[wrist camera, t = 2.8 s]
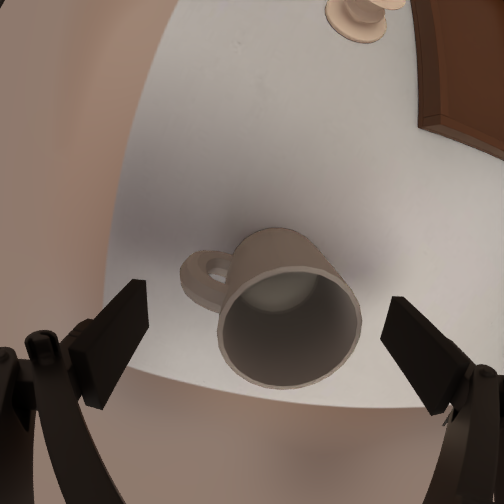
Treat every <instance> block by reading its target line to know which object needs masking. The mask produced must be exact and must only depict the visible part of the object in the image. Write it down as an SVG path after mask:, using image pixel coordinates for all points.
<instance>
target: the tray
mask: <svg viewBox="0 0 504 504" xmlns="http://www.w3.org/2000/svg"><path fill="white" fill-rule="evenodd" d="M411 6H412V12H413V19H414V28H415V37H416V48H417V62H418V87H419V115H418V128H421V129H424V130H427V131H430V132H433V133H436V134H439V135H442V136H445V137H448V138H450V139H453V140H456V141H458V142H461V143H464V144H466V145H469V146H471V147H474V148H476V149H479V150H481V151H483V152H486V153H488V154H490V155H493V156H495V157H497V158H499V159H501V160H503V161H504V0H411Z"/></svg>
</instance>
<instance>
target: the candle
mask: <svg viewBox="0 0 504 504" xmlns="http://www.w3.org/2000/svg"><path fill="white" fill-rule="evenodd" d="M405 1H406V0H328V2H327V4H326V7H325V14H326V17H327V19H328V21H329V23H330V24H331V26H332V27H333V28H334V29H335V30H336V31H337V32H338V33H340V34H341V35H343V36H344V37H346V38H348V39H350V40H352V41H355V42H360V43H372V42H376V41H377V40H379V39H380V38H381V37H382V36H383V35H384V34H385V32H386V28H387V25H386V19H385V17H384V15H385V10H384V9H388V10H397V9H400V8H402V7H403V6H404V4H405Z"/></svg>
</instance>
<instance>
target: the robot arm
mask: <svg viewBox="0 0 504 504" xmlns="http://www.w3.org/2000/svg"><path fill="white" fill-rule="evenodd" d="M4 1H5V0H0V8H1V6H2V4H3V2H4ZM148 328H149V320H148V307H147V291H146V280H138V279H132V280H131V281H130V282H129V283H128V284H127V285H126V286H125V287H124V288H123V289H122V290H121V291H120V292H119V293H118V294H117V295H116V296H115V297H114V298H113V299H112V300H111V301H110V302H109V304H108V305H107V306H106V307H105V308H104V309H103V310H102V311H101V312H100V313H99V314H98V315H97V316H96V318H94V320H93V319H86V320H84V321H82V322H80V323H79V324H78V325H77V326H76V327H75V328H74V329H73V331H71V332H70V333H69V334H68V335H67V336H66V337H65V338H64V339H63V340H62V341H61V343H59V342H58V338H57V336H56V334H55V333H54V332H52V331H48V330H39V331H36V332H33V333H31V334H30V335H28V336H27V337H26V339H25V346H26V349H27V352H28V355H29V358H30V360H26V359H18V358H17V355H16V353H15V351H14V350H13V349H12V348H10V347H0V504H34V491H33V443H34V442H33V441H34V428H35V416H36V411H38V412H39V417H40V421H41V426H42V430H43V434H44V438H45V442H46V446H47V450H48V453H49V456H50V460H51V463H52V466H53V469H54V472H55V475H56V478H57V481H58V484H59V486H60V489H61V492H62V494H63V497H64V499H65V502H66V504H126V503H125V501H124V500H123V498H122V496H121V495H120V493H119V491H118V489H117V488H116V486H115V484H114V482H113V480H112V478H111V476H110V475H109V473H108V471H107V469H106V467H105V465H104V463H103V461H102V459H101V457H100V455H99V452H98V450H97V448H96V446H95V444H94V442H93V439H92V437H91V434H90V432H89V430H88V428H87V425H86V422H85V420H84V417H83V415H82V412H81V409H80V407H79V404H78V400H79V398H80V397H81V395H82V397H83V399H84V402H85V405H86V406H90V407H94V408H97V409H100V410H103V408H104V406H105V404H106V403H107V401H108V399H109V397H110V395H111V393H112V391H113V389H114V387H115V386H116V384H117V382H118V380H119V378H120V377H121V375H122V373H123V371H124V370H125V368H126V366H127V364H128V363H129V361H130V359H131V357H132V355H133V354H134V352H135V350H136V348H137V347H138V345H139V343H140V342H141V340H142V338H143V336H144V335H145V333H146V331H147V330H148ZM380 340H381V341H382V343H383V344H384V346H385V347H386V348H387V350H388V351H389V353H390V354H391V356H392V357H393V359H394V360H395V362H396V363H397V364H398V366H399V367H400V369H401V370H402V372H403V373H404V375H405V376H406V378H407V379H408V381H409V382H410V384H411V385H412V387H413V388H414V390H415V392H416V393H417V395H418V396H419V398H420V399H421V401H422V402H423V404H424V405H425V407H426V408H427V410H428V412H429V413H430V415H431V416H433V415H437V414H441V413H444V411H445V410H446V408H447V406H448V405H449V403H451V404H452V406H453V409H452V411H451V412H450V414H449V415H448V417H447V419H446V420H445V422H444V423H443V426H445V424H446V423H448V424H447V428H446V433H445V437H444V441H443V444H442V448H441V452H440V456H439V459H438V462H437V465H436V468H435V471H434V474H433V478H432V480H431V483H430V486H429V488H428V491H427V494H426V497H425V499H424V501H423V504H504V375H497V372H496V371H495V370H494V369H493V368H491V367H490V366H487V365H483V364H479V365H477V366H476V365H475V364H474V363H473V362H472V361H471V360H470V358H469V357H468V356H467V355H466V354H465V353H464V352H462V350H461V349H460V348H458V346H457V345H456V344H455V343H454V342H453V341H451V340H450V339H448V338H446V337H445V336H444V335H443V334H442V333H441V332H440V331H439V330H438V329H437V328H436V327H435V326H434V325H433V324H432V323H431V322H430V321H429V320H428V319H427V318H426V317H425V316H424V315H423V314H421V313H420V312H419V311H418V310H417V309H416V308H415V307H414V306H413V305H412V304H411V303H410V302H409V301H408V300H406V299H405V298H404V297H398V296H392V299H391V303H390V306H389V310H388V314H387V317H386V321H385V324H384V328H383V331H382V334H381V338H380ZM493 493H494V501H495V502H493Z"/></svg>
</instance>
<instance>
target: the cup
mask: <svg viewBox="0 0 504 504" xmlns="http://www.w3.org/2000/svg"><path fill="white" fill-rule="evenodd" d="M208 274H217V275H220V276H223V277H226V282H225V284H224V283H221V282H218V281H216V280H214V279H212V278H211V277H210V276H209V275H208ZM180 279H181V286H182V288H183V290H184V292H185V294H186V295H187V296H188V297H189V298H191V299H192V300H193V301H194V302H195V303H197V304H199V305H200V306H202V307H204V308H206V309H208V310H211V311H214V312H217V313H219V322H218V328H217V337H218V345H219V349H220V351H221V353H222V356H223V358H224V360H225V362H226V363H227V364H228V365H229V366H230V368H231V369H232V370H233V371H234V372H235V373H236V374H237V375H239V376H240V377H242V378H243V379H245V380H246V381H248V382H250V383H253V384H255V385H258V386H261V387H264V388H270V389H279V390H286V389H298V388H302V387H305V386H309V385H312V384H315V383H317V382H319V381H321V380H323V379H325V378H327V377H329V376H330V375H332V374H333V373H334V372H335V371H337V370H338V369H339V368H340V367H341V366H342V365H344V363H345V362H346V361H347V359H348V358H349V357H350V356H351V354H352V353H353V352H354V349H355V347H356V345H357V343H358V340H359V338H360V333H361V326H362V316H361V310H360V305H359V303H358V301H357V299H356V297H355V295H354V293H353V291H352V290H351V289H350V287H349V286H348V285H347V284H346V282H345V281H344V280H343V279H342V277H341V276H340V275H339V274H338V273H337V271H336V270H335V269H334V268H333V267H332V265H331V264H330V263H329V262H328V261H327V259H326V258H325V257H324V256H323V255H322V253H321V252H320V251H319V250H318V249H317V247H316V246H315V245H313V244H312V243H311V242H310V241H309V240H308V239H307V238H306V237H305V236H303V235H301V234H299V233H297V232H295V231H293V230H288V229H284V228H268V229H265V230H262V231H259V232H256V233H254V234H252V235H251V236H249V237H248V238H246V239H245V240H244V241H243V242H242V243H241V244H240V245H239V246H238V247H237V248H236V250H235V252H234V254H233V255H230V254H227V253H223V252H219V251H205V250H203V251H198V252H195V253H193V254H191V255H190V256H189V257H188V258H187V259H186V261H185V262H184V263H183V265H182V266H181V268H180Z"/></svg>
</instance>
